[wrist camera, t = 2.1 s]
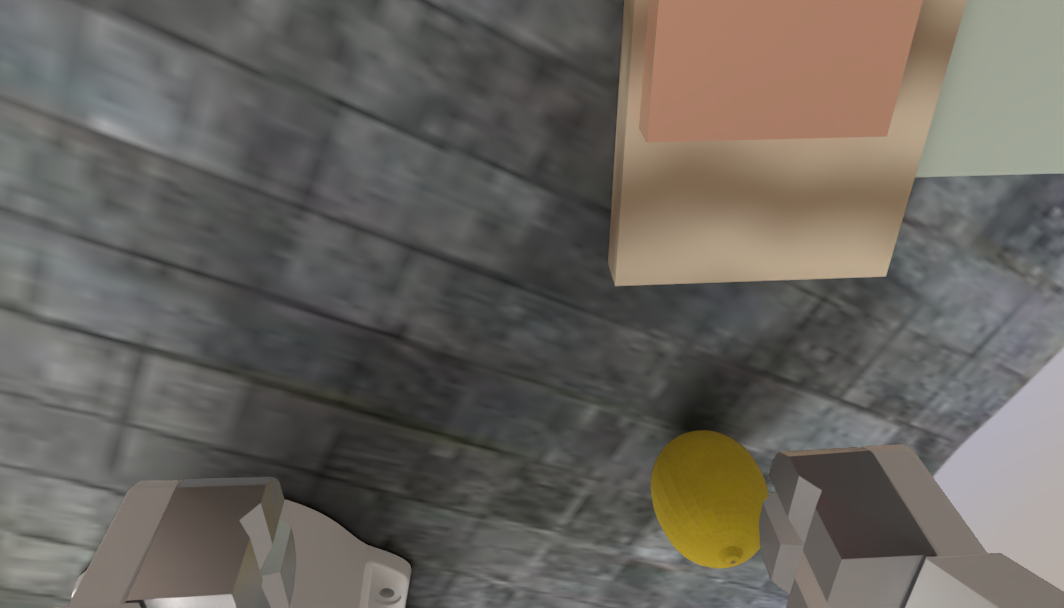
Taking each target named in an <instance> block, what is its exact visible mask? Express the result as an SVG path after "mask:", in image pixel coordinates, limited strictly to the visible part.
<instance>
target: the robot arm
mask: <svg viewBox="0 0 1064 608" xmlns="http://www.w3.org/2000/svg"><path fill="white" fill-rule="evenodd" d="M769 477H770V479H771V481H772V484H773V486H774V488H775V490H776V491H774V492H773V493H772V494H771V495H770V496H769V497H768V498H767V499H766V500H764V501H763V503H762V508H761V513H760V518H759V535H760V546H761V551H762V555H763V559H764V563H765V565H766V568H767V571H768V573H769V576H770V578H771V581H773V582H774V583H775V584H776V585H778V586H779V587H780V588H781V589H782V590H784V591H785V592H786V593H787V594H789V599H788V603H787V606H786V608H1064V592H1063V591H1061V590H1060V589H1058V588H1057V587H1055V586H1053V585H1052V584H1050V583H1048V582H1047V581H1045V580H1044V579H1042V578H1040V577H1039V576H1037V575H1036V574H1034V573H1032V572H1031V571H1029V570H1027V569H1026V568H1024V567H1022V566H1021V565H1019V564H1018V563H1016V562H1014V561H1013V560H1011V559H1010V558H1008V557H1006V556H1005V555H1003V554H1001V553H991V554H988V553H987V552H986V551H985V549H984V548H983V546H982V545H981V544H980V542H979V541H978V539H977V538H976V537H975V535H974V534H973V532H972V531H971V530H970V528H969V527H968V526H967V524H966V523H965V521H964V520H963V519H962V517H961V516H960V514H959V513H958V512H957V510H956V509H955V508H954V506H953V505H952V503H951V502H950V500H949V499H948V498H947V496H946V495H945V494H944V492H943V491H942V489H941V488H940V487H939V485H938V484H937V482H936V481H935V480H934V478H933V477H932V475H931V474H930V473H929V471H928V470H927V468H926V467H925V466H924V464H923V463H922V462H921V460H920V459H919V457H918V456H917V455H916V453H915V452H914V451H913V450H912V449H910V448H909V447H907V446H906V445H904V444H901V445H884V446H868V447H861V448H857V447H852V448H835V449H818V450H800V451H783V452H778V454H777V455H776V456H775V458H774V459H773V462H772V465H771V469H770V473H769ZM410 577H411V566H410V564H409V563H408V562H407V561H406V560H404V559H403V558H401V557H399V556H397V555H395V554H392V553H390V552H387V551H384V550H381V549H378V548H375V547H372V546H369V545H367V544H365V543H363V542H362V541H360V540H359V539H357V538H356V537H354V536H353V535H352V534H351V533H349V532H348V531H347V530H346V529H344V528H343V527H342V526H341V525H339V524H338V523H336V522H335V521H333V520H332V519H330V518H328V517H327V516H325V515H323V514H321V513H319V512H317V511H315V510H313V509H311V508H309V507H306V506H303V505H301V504H298V503H295V502H292V501H289V500H285V499H284V496H283V493H282V489H281V486H280V482H279V479H276V478H274V477H241V478H199V479H184V480H153V481H139V482H138V483H136V484H135V485H134V486H133V487H132V488H130V489H129V491H128V492H127V493H126V495H125V497H124V499H123V501H122V503H121V505H120V507H119V509H118V511H117V512H116V514H115V516H114V518H113V520H112V522H111V524H110V526H109V528H108V530H107V532H106V534H105V536H104V538H103V539H102V541H101V543H100V545H99V547H98V549H97V551H96V553H95V555H94V557H93V559H92V561H91V563H90V564H89V566H88V568H87V570H86V571H85V572H84V573H82V574H81V575H80V576H79V577H78V579H77V581H76V584H75V587H74V590H73V592H72V599H71V601H70V603H69V605H68V606H63V607H53V608H405V607H406V601H407V595H408V589H409V583H410Z"/></svg>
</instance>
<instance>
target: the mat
mask: <svg viewBox="0 0 1064 608" xmlns="http://www.w3.org/2000/svg"><path fill="white" fill-rule="evenodd" d="M1057 173H1064V0H967V2H966V5H965V9H964V12H963V16H962V19H961V23H960V26H959V29H958V33H957V36H956V40H955V43H954V46H953V50H952V53H951V57H950V60H949V63H948V67H947V70H946V74H945V77H944V80H943V84H942V87H941V91H940V94H939V97H938V101H937V104H936V108H935V111H934V114H933V118H932V121H931V125H930V128H929V131H928V135H927V138H926V142H925V145H924V149H923V152H922V155H921V159H920V162H919V166H918V169H917V172H916V176H915V177H949V176H985V175H1021V174H1057Z"/></svg>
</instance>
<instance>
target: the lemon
mask: <svg viewBox="0 0 1064 608" xmlns="http://www.w3.org/2000/svg"><path fill="white" fill-rule="evenodd" d="M651 495H652V501H653V506H654V511H655V514H656V516H657V519H658V521H659V523H660V525H661V527H662V529H663V530H664V532H665V534H666V536H667V537H668V539H669V540H670V542H671V543H672V545H673V546H674V547H675V548H676V549H677V550H678V551H679V552H680V553H681V554H682V555H684V556H685V557H686V558H687V559H689V560H691V561H693V562H695V563H697V564H700V565H702V566H707V567H711V568H728V567H733V566H736V565H739V564H741V563H743V562H745V561H747V560H748V559H750V558H751V557H752V556H753V555H754V554H755V553H756V552H757V551H758V550H759V549H760V548H761V546H760V535H759V518H760V513H761V508H762V503H763V501H764V500H766V499H767V498H768V497H769V494H768V490H767V486H766V482H765V479H764V476H763V474H762V472H761V470H760V468H759V467H758V465H757V463H756V462H755V460H754V459H753V457H752V456H751V455H750V453H749V452H748V451H747V450H746V449H745V448H744V447H743V446H742V445H740V444H739V443H738V442H736V441H735V440H734V439H732V438H731V437H729V436H726V435H724V434H721V433H719V432H715V431H708V430H699V431H692V432H688V433H685V434H682V435H680V436H678V437H676V438H675V439H673V440H672V441H671V442H669V443H668V444H667V445H666V446H665V447H664V449H663V450H662V451H661V452H660V454H659V456H658V458H657V460H656V462H655V464H654V467H653V471H652V477H651Z"/></svg>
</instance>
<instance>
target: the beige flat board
mask: <svg viewBox="0 0 1064 608" xmlns="http://www.w3.org/2000/svg"><path fill="white" fill-rule="evenodd" d="M966 2H967V0H923V2H922V5H921V9H920V13H919V17H918V21H917V24H916V28H915V32H914V36H913V40H912V43H911V47H910V51H909V55H908V59H907V62H906V66H905V70H904V74H903V77H902V81H901V85H900V89H899V93H898V96H897V100H896V104H895V108H894V112H893V115H892V119H891V123H890V127H889V131H888V134H887V137H847V138H806V139H766V140H725V141H684V142H646V140H645V139H644V137H643V135H642V133H641V131H640V129H639V121H640V108H641V95H642V83H643V70H644V57H645V45H646V32H647V19H648V7H649V0H624V12H623V28H622V44H621V60H620V77H619V93H618V109H617V125H616V141H615V157H614V173H613V189H612V205H611V221H610V237H609V254H608V265H609V268H610V272H611V275H612V278H613V281H614V285H615V286H634V285H662V284H690V283H718V282H746V281H775V280H803V279H831V278H859V277H886V275H887V271H888V268H889V264H890V261H891V257H892V254H893V251H894V247H895V244H896V240H897V237H898V234H899V230H900V227H901V223H902V220H903V217H904V213H905V210H906V206H907V203H908V200H909V196H910V193H911V189H912V186H913V183H914V179H915V176H916V172H917V169H918V166H919V162H920V159H921V155H922V152H923V149H924V145H925V142H926V138H927V135H928V131H929V128H930V125H931V121H932V118H933V114H934V111H935V108H936V104H937V101H938V97H939V94H940V91H941V87H942V84H943V80H944V77H945V74H946V70H947V67H948V63H949V60H950V57H951V53H952V50H953V46H954V43H955V40H956V36H957V33H958V29H959V26H960V23H961V19H962V16H963V12H964V9H965V5H966Z"/></svg>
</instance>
